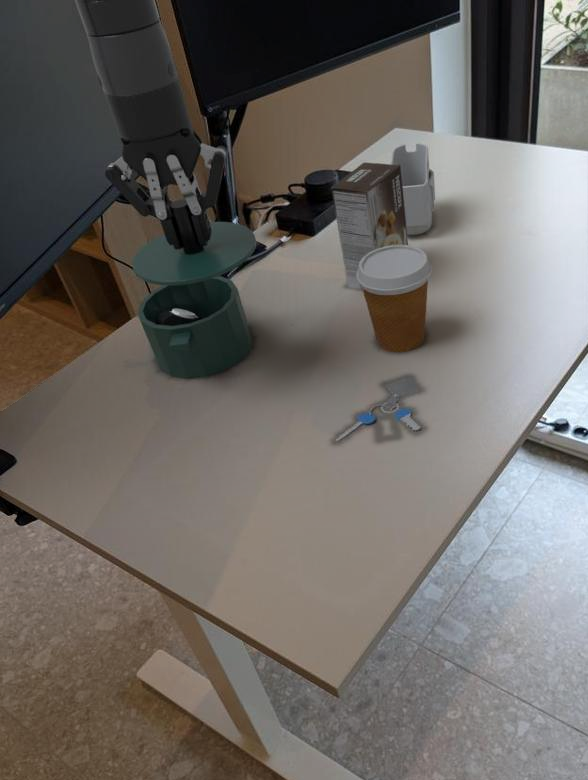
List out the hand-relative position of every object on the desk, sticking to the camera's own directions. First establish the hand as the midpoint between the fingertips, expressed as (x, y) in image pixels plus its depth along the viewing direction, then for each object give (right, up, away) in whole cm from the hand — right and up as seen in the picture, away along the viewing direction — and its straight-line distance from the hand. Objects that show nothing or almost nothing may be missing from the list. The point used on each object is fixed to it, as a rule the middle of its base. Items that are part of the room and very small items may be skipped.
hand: (191, 244), depth 80 cm
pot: (-3, -9, +18) cm, 21 cm away
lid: (0, -1, +1) cm, 1 cm away
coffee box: (+23, +4, +27) cm, 35 cm away
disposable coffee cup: (+25, -9, +14) cm, 30 cm away
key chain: (+24, -20, +3) cm, 31 cm away
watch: (-5, -6, +17) cm, 19 cm away
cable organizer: (+29, +15, +37) cm, 49 cm away
